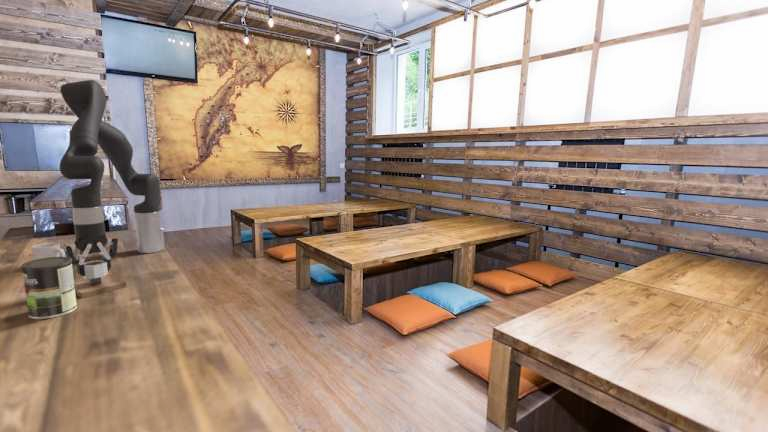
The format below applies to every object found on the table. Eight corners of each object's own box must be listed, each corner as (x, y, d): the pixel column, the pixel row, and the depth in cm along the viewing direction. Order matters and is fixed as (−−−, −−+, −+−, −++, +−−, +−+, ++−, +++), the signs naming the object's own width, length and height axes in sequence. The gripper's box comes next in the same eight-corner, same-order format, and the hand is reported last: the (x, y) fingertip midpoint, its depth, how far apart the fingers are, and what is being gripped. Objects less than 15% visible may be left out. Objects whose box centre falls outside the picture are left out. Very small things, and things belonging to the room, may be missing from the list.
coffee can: (39, 323, 98) (31, 270, 96) (21, 314, 103) (13, 263, 100) (85, 308, 107) (79, 260, 105) (66, 301, 112) (60, 254, 109)
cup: (75, 263, 147) (72, 243, 146) (55, 269, 139) (52, 248, 138) (49, 262, 148) (46, 242, 147) (28, 268, 140) (25, 247, 139)
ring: (102, 271, 126) (101, 259, 125) (110, 274, 123) (109, 262, 122) (80, 276, 121) (78, 263, 120) (88, 279, 118) (86, 267, 117)
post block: (109, 279, 131) (107, 260, 130) (126, 286, 124) (124, 267, 123) (66, 289, 121) (63, 269, 120) (81, 298, 114) (79, 277, 113)
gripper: (110, 216, 127) (115, 265, 130) (55, 223, 115) (62, 276, 118) (120, 219, 123) (125, 269, 126) (64, 226, 111) (71, 281, 114)
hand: (95, 273), depth 122 cm, fingers closed on ring, 5 cm apart
